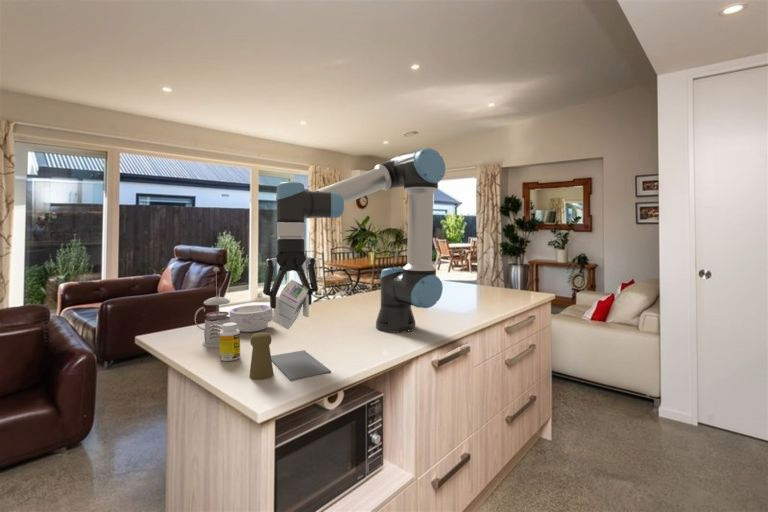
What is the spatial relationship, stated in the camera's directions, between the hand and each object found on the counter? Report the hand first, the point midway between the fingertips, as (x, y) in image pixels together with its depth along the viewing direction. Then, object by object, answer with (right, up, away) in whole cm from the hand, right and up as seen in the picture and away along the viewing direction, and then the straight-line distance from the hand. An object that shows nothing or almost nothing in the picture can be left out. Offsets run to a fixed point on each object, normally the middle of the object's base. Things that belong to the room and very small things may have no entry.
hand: (291, 317), depth 111 cm
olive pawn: (-5, -13, -11) cm, 18 cm away
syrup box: (-3, -1, +6) cm, 7 cm away
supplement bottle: (-18, -12, +2) cm, 22 cm away
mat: (+2, -13, -3) cm, 13 cm away
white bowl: (-23, -10, +34) cm, 43 cm away
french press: (-29, -11, +17) cm, 35 cm away
